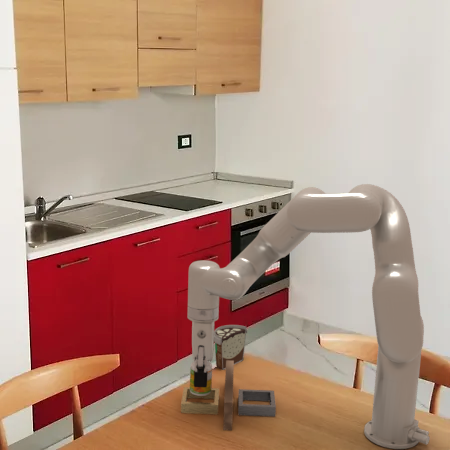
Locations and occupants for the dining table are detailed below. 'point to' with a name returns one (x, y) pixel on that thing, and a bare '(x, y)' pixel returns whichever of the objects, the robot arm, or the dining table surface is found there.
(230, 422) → the brown wooden plank
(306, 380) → the dining table surface
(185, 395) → the double square frame
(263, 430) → the dining table surface
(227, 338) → the food container
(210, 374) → the supplement bottle
